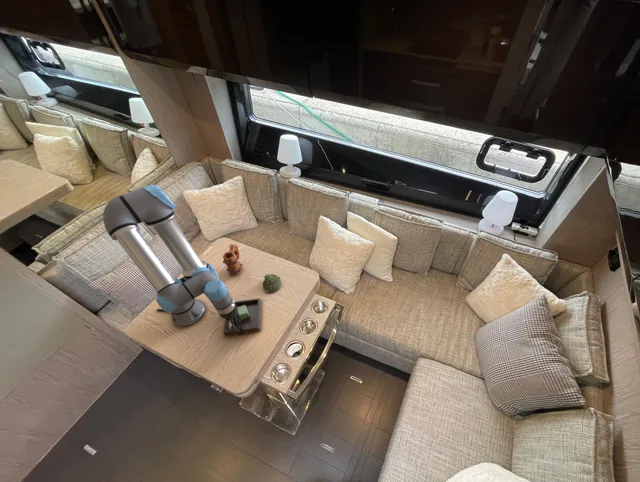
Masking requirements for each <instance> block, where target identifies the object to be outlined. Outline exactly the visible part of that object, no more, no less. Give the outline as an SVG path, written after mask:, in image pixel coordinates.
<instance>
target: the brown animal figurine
mask: <svg viewBox="0 0 640 482" xmlns="http://www.w3.org/2000/svg"><path fill="white" fill-rule="evenodd" d="M222 259H223V261H222V263H223V264H224V265H226V267H227V268H226V270H225V271H226V272H228V273H229V274H231V275H232V276H237V275H239V274H240V273H241V272H242V269H243V263H241V262H240V261H239V259H240V249H239V248H238V246H237V244H233V243H232V244H230V245H229V251H226V252H224V254H223V255H222Z"/></svg>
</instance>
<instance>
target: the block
mask: <svg viewBox="0 0 640 482" xmlns="http://www.w3.org/2000/svg"><path fill="white" fill-rule="evenodd" d="M238 313H239V316H240V318H241V320H244V319H247V318H249V313H248V310H247V308H246V306H245V305H243V306H240V307H238ZM241 320H240V321H241Z"/></svg>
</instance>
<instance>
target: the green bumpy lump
mask: <svg viewBox="0 0 640 482" xmlns="http://www.w3.org/2000/svg"><path fill="white" fill-rule="evenodd" d="M263 278H264V280H263V281H262V288H263V289H264V291H266V292H268V293H270V294H271V293H273V292H275V291H278V290H279V289H280V288H281V286H282V279H281V277H280V276H278V275H277V274H273V273H271V274H270V273H268V274H267V273H266V274H265V275H264V276H263Z"/></svg>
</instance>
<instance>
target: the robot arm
mask: <svg viewBox="0 0 640 482" xmlns="http://www.w3.org/2000/svg"><path fill="white" fill-rule="evenodd" d="M175 209H176V206H175V204H174V203H173V201H172V200H171V199H170V197H169V196H168V194H166V193H165V192H164V190H163V189H161V187H159V186H158V185H157V184H149V185H146V186H141V187H140V188H137V189H134V190H132V191H129V192H127V193H124V194H121V195H119V196H115V197H113V198H111V199H110V200H109V201H108V202H107V204H106V205H105V206H104V210H103V215H102V219H103V226H104V229H105V231H106V233H107V234H108V236H109V237H110V238H111V239H112V240H113V241H117V242H118V243H119V245H120V246H121V247H122V249H123V250H124V251H125V252H126V254H127V255H128V256H129V257H130V259H131V260H132V261H133V263H134V264H135V265H136V267H137V268H138V269H139V270H140V272H141V273H142V274H143V276H144V277H145V279H146V280H147V281H148V282H149V284H150V285H151V286H152V287H153V289H154V290H155V291H156V298H155V301H156V303H157V304H158V306H159V307H160V308H156V311H157V312H159V311H160V312H165V313H166V314H169V313H170V315H171V316H170V317H171V320H172V322H173V323H174V324H175V325H176V326H179V327H189V326H193V325H194V324H196V323H198V322H199V321H200V320H201V319H202V318H203V316H204V315H205V312H206V307H205V305H204V303H203V302H202V301H201V300H199V299H196V298H198V297H199V296H201V295H203V294H204V295H205V296H206V298H207V299H208V300H209V301H210V303H211V304H212V306H213V307H214V310H215V311H216V312H217V313H218V315H219V317H220V318H221V319H223V320H225V319H226V320H227V323H229V325H228V327H227V329H230V330H231V331H232V332H234V333H236V332H238V334H237V335H243V334H244V335H245V334H246V333H245V331H244V329H243V327H242V325H241V324H242V322H240V320H241V318H240V316H239V313H238V308H237V306H236V304H235V301H234V298H233V297H232V296H231V293H230V291H229V290H228V287H227V286H226V284H225V283H224V281H222V280H220V277H219V275H218V272H217V270H216V269H215V267H214V266H213V264H212V263H210V262H208V263H207V262H206V261H205V260H202V259H201V258H200V257H199V255H198V254H197V252H196V251H195V249H194V247H193V246H192V244H191V243H190V241H189V239H188V238H187V236H186V235H185V233H184V231H182V229H181V227H180V225H179V224H178V223H177V221H176V220H175V215H176V213H175V211H174V210H175ZM141 223H144V225H146V226H147V227H152V228H153V230H154V231H155V233H157V235H158V236H159V238H160V239H161V241H162V242H163V243H164V245H165V246H166V248H167V249H168V250H169V252H170V253H171V254H172V257H174V259H175V260H176V261H177V263H178V264H179V266H180V267H181V269H182V272H181V274H182V277H181V278H176V277H174V276H173V274H172V273H171V272H170V271H169V269H168V267H167V266H166V265H165V264H164V262H163V261H162V260H161V259H160V257H159V256H158V255H157V253H156V252H155V251H154V249H153V248H152V247H151V245H150V244H149V242H148V241H147V240H146V239H145V237H144V236H143V235H142V234H141V232H140V230H141V227H140V226H139V225H138V224H141Z"/></svg>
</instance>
